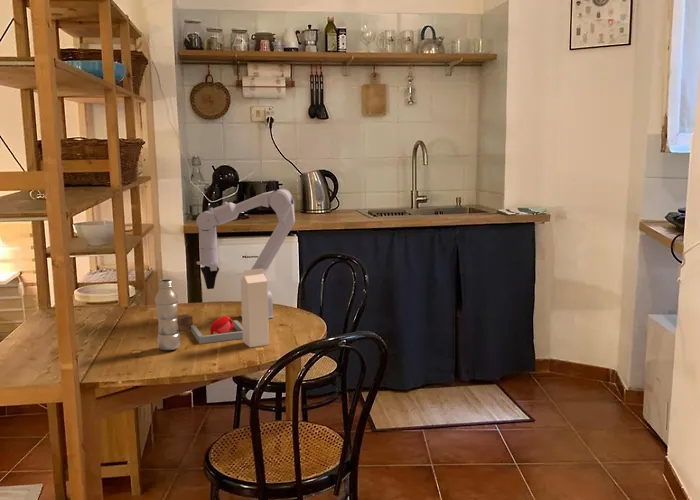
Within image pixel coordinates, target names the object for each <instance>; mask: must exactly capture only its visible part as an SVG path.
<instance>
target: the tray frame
mask: <svg viewBox="0 0 700 500" xmlns="http://www.w3.org/2000/svg"><path fill="white" fill-rule="evenodd" d="M232 321H233V323H234V325H233V328H234V329H235V330H236V331H231V332H230V333H222V334H219V333H215V334H214V333H213V334H212V335H210V334H206V335H203V334H202V333H201V331H200V330H199V329H198V327H197V325H195V324H193V325H191V329H190V332H191V333H192V334H193V337H194V338H195V340H196V341H197V342H198V344H199V345H203V344H211V343H218V342H227V341H233V340H234V341H235V340H243V327H242V323H241V322H239V321H238V320H237V319H235V320H233V319H232Z"/></svg>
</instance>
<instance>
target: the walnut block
mask: <svg viewBox="0 0 700 500" xmlns="http://www.w3.org/2000/svg"><path fill="white" fill-rule="evenodd" d="M177 323H178V330H179V332H180V331H181V332H182V331H187V330H191V325H194V322H193V316H192V315H190V314H188V313H184V314H179V315H178V314H177Z"/></svg>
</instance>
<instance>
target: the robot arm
mask: <svg viewBox="0 0 700 500" xmlns="http://www.w3.org/2000/svg"><path fill="white" fill-rule="evenodd" d="M259 207H266V208H269V207H271V208H272V210H273V211H274V213H275V214H276V217H277V220H278V222H277V224H276V226H275V228H274V230H273V231H272V233H271V235H270V237H269V239H268V240H267V242H266V243H265V245H264V247H263V249H262V251H261V252H260V254H259V255H258V258H257V259H256V261H255V263H254V264H253V266H252V267H251V269H250V270H253V269H263V274H264V276H265V277H266V273H267V272H268V269H269V268H270V266H271V264H272V262H274V261H273V260H274V259H275V257H276V256H277V254H278V252H279V251H280V249H281V247H282V245H283V243H284V241H286V239H287V236H288V234H289V233H290V232H291V230H292V229H293V226H294V225H295V222H296V216H295V200H294V197H293V194H292V193H291V192H290V191H289V190H288V189H286V188H279V189H276V191H275V190H271V191H268V192H267V191H266V192H263V193H260V194H257V195H256V196H253V197H250V198H248V199H246V200H243V201H240V202H238V203H233V202H231V201H230V202H228V201H225V202H222V204H221V205H219V206H216V207H214V208H213V207H210V208H209V209H208V210H205V211H203V212H201V213H199V214H198V216H197V217H196V219H195V220H196V221H195V222H196V225H197V227H198V242H199V243H198V244H199V245H198V246H199V261H196V265H197V266H198V265H201V266H202V267H199V269H200V272H201V273H202V275H203V279H204V283H205V287H206V289H207V290H212V289H215V285H216V279H217V275H218V273H219V271H220V268H219V267H218V265H219V257H218V252H219V251H218V234H217V226H221V225H224V224H226V223H228V222H232V221H233V220H234V221H235V220H237V219H238V217H239V214H241V213H243V212H247V211H249V210H252V209H255V208H259ZM273 306H274V305H273V295H272V292H271V290H270V289H268V319H273V318H274V312H273V310H274V309H273ZM239 316H240V317H241V318H242V313H240V314H239Z"/></svg>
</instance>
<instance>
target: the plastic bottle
mask: <svg viewBox="0 0 700 500" xmlns="http://www.w3.org/2000/svg"><path fill="white" fill-rule="evenodd" d="M158 288H159V290H158V292H157V293H156V294H155V295H156V296H155V297H154V303H155V308H156V313H157V321H158V325H157V327H158V329H157V330H158V334H157V339H156V341H157V346H158V348H159V349H160V350H162V351H174V350H177V349H178V348H179V347H180V346H181V335H180V330H178V323H177V316H178V307H179V306H178V304H179V297H178V295H177V294H176V292H175V290H174V289H173V280H172V279H170V278H169V279H167V278H166V279H159V281H158Z"/></svg>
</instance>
